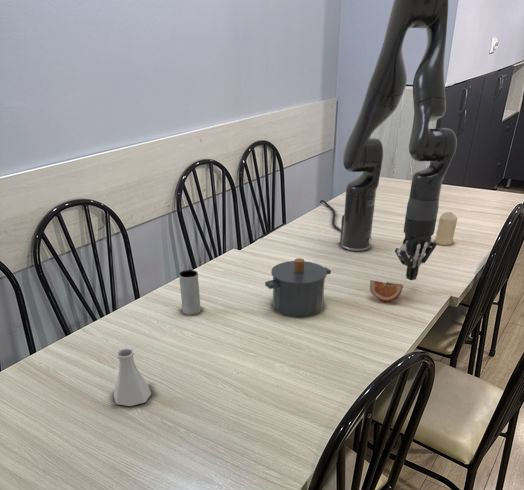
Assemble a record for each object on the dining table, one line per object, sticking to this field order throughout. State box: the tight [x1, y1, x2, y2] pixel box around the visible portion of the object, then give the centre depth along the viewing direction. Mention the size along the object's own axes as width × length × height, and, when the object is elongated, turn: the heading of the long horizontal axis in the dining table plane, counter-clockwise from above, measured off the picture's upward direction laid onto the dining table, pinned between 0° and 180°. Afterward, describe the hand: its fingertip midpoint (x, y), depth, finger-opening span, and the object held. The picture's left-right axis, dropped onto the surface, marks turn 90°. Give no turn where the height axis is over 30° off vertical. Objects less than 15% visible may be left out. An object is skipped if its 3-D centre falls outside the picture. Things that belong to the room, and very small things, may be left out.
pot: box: [264, 266, 332, 318], centre depth 128 cm, size 13×18×9 cm
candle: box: [434, 211, 458, 246], centre depth 167 cm, size 6×6×10 cm
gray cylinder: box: [178, 269, 201, 316], centre depth 125 cm, size 4×4×10 cm
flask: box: [113, 347, 152, 407], centre depth 95 cm, size 7×7×10 cm
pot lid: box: [270, 257, 328, 285], centre depth 125 cm, size 14×14×4 cm
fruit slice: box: [369, 279, 404, 302], centre depth 132 cm, size 8×7×5 cm
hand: (410, 279), depth 135 cm, fingers closed
